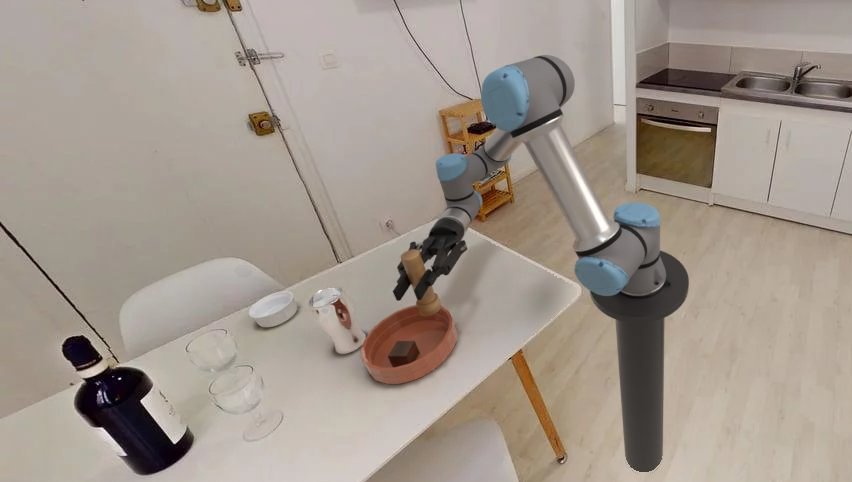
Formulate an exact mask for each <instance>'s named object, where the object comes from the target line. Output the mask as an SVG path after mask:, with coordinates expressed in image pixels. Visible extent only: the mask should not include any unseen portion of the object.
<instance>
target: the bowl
mask: <svg viewBox="0 0 852 482" xmlns="http://www.w3.org/2000/svg"><path fill="white" fill-rule="evenodd" d="M457 339H458V330H457V327H456V324H455V321H454V318H453V315H452V314H451V312H450V310H449V309H447V308H446V307H444V306H443V305H441V308H440V310H439V311H438V312H437V313H435V314H434V315H431V316H422V315H421V314H420V313H419V310H418V308H417V305H416V304H414V305H409V306H406V307H404V308H402V309H399V310H397V311H394V312H393V313H391V314H390V315H388V316H386V317H385V318H383V319H382V320H381V321H380V322H378V323H377V324H376V325H375V326H373V328H372V329H371V330H370V331H369V333H368V334H367V336H366V339H365V340H364V342H363V344H362V346H361V348H360V354H361V360H362V362H363V364H364V366H365V369H367V372H368V373H369V375H370V376H371V377H372V378H373V379H374V380H375V381H377V382H380V383H383V384H386V385H395V384H396V385H399V384H404V383H409V382H412V381H416V380H417V379H420V378H422V377H424V376H426V375H428V374H429V373H431V372H433V371H434V370H435V369H436V368H438V367H439V366H440V365H442V363H444V361H445V360H446V359H447V358H448V357H449V356H450V354H451V353H452V351H453V349H454V347H455V345H456V343H457ZM397 341H415V343H416V345H417V347H418V350H419V352H420V353H419V355H418V357H417V359H416V360H415V361H414V362H412V363H410V364H406V365H402V366H398V367H392V365H391V362H390V360H389V358H388V355H389V353H390V351H391V350H392V348H393V347H394V345H395V343H396V342H397Z"/></svg>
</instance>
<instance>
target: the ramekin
mask: <svg viewBox="0 0 852 482" xmlns="http://www.w3.org/2000/svg"><path fill="white" fill-rule="evenodd" d="M297 310H298V304H297V302H296V300H295V297H294V293H293V292H291V291H287V290H282V291H281V290H280V291H277V292H273V293H271V294H270V293H269V294H268V295H266V296H263V297H262V298H261V299H259V300H257V301H256V302H254V303H253V304H252V306H251V307H250V308H249V310H248V316H249V317H250V318H251V319H252V320H254V321H255V322H256V323H257V324H258V326H260V327H262V328H273V327H276V326H279V325H281V324H284V323H285V322H287V321H289V320H290V319H291V318H293V316H294V315H295V314H296V313H297V312H298V311H297Z"/></svg>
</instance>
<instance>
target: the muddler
mask: <svg viewBox="0 0 852 482" xmlns="http://www.w3.org/2000/svg"><path fill="white" fill-rule="evenodd" d="M420 252H421V251H420ZM420 252H419V251H418V250H416V249H413V250H409V249H407V250H406V251H404V252H403V253H402V254H401V255H400V261H401V260H402V263H403V265H404V268H405V270H406V273H407V275H408V278H409V280H410V283H411V285H410V286H411V288H412V291H414V289H415V288H416V286H417V284H418V283H419V281H420V280H421V278H422V277H423V275H424V274H425V272H426V270H427V269H426V266H425V264H424V263H423V260H422V258H421V255H420ZM415 305H417V308H418V310H419V313H420V314H421V315H422V316H431V315H434V314H435V313H437V312H438V311H439V310H440V308H441V306H442V302H441V300H440V297H439V295H438V293H437V292H435V290H434V288H433V285H432V286H429V287H428V289H427V291H426V292H425V294H424V296H423V297H422V299H421V300H417V299H416V301H415Z"/></svg>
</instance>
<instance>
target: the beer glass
mask: <svg viewBox="0 0 852 482" xmlns="http://www.w3.org/2000/svg"><path fill="white" fill-rule="evenodd" d="M307 306H308V307H309V310H310V313H311V315H312V317H313V319H314V320H315V322H316V323H317V325H318V326H319V327H320V328H321V330H323V332H325V333H326V334H327V336H329V337H330V338H331V340H332V342H333V345H334V349H335V352H336V353H338V354H340V355H346V354H350V353H352V352H355V351H356V350H358V349H359V348H361V347H362V346H363V342H364V340H365V339H366V337H367V336H366V334H365V332H364V331H363V330H362V329H361V328H360V327H359V324H358V321H357V316H356V310H355V307H354V305H353V303H352V300H351V299H350V297H349V296H348V294H347V292H346V291H345V289H344V287H342V286H339V285H332V286H328V287H325V288H322V289H320V290H318V291H317V292H315V293H314V294H312V295H311V296H310V297H309V299H308V300H307Z"/></svg>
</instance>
